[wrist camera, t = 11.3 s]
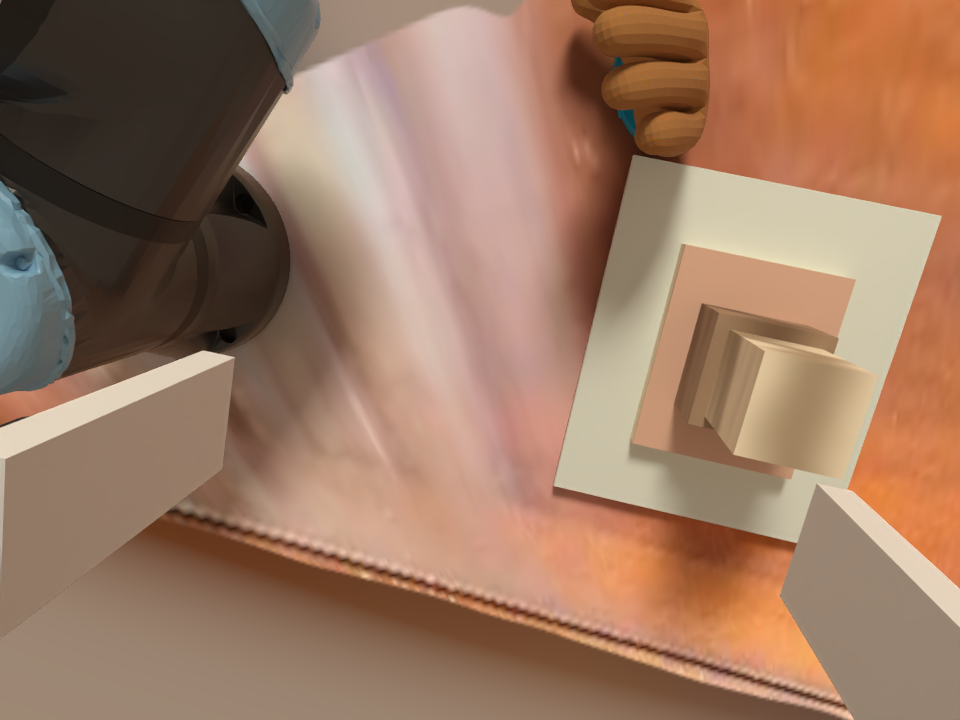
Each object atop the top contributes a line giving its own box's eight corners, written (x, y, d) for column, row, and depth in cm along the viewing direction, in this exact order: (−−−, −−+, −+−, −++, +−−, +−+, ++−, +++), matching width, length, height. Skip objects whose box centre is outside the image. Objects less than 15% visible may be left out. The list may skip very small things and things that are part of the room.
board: (553, 480, 51) (553, 493, 49) (632, 156, 46) (636, 152, 43) (820, 543, 50) (834, 560, 47) (933, 216, 44) (955, 215, 42)
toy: (564, -6, 44) (566, -117, 30) (671, -36, 43) (728, -166, 29) (598, 179, 46) (616, 159, 32) (701, 155, 45) (769, 123, 31)
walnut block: (674, 402, 46) (687, 423, 41) (701, 303, 45) (719, 312, 40) (776, 425, 46) (802, 449, 41) (808, 325, 44) (838, 338, 39)
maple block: (704, 416, 41) (733, 454, 34) (729, 329, 40) (765, 351, 33) (795, 436, 41) (842, 479, 34) (823, 349, 40) (878, 376, 33)
